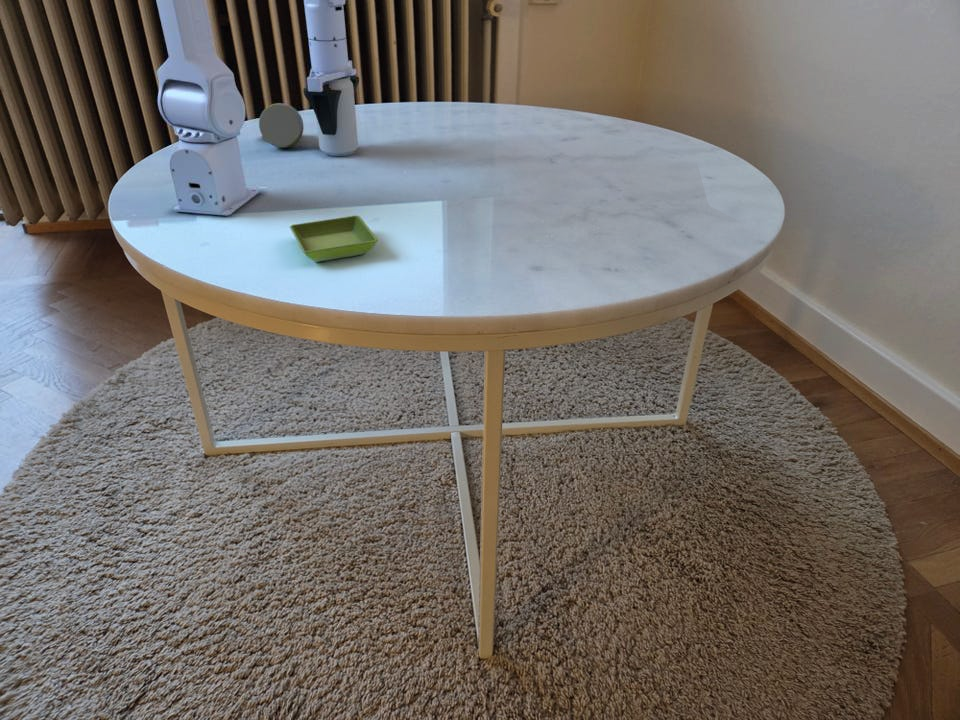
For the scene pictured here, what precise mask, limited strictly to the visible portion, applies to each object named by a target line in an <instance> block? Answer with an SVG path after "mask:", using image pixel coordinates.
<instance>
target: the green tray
mask: <svg viewBox="0 0 960 720" xmlns="http://www.w3.org/2000/svg"><path fill="white" fill-rule="evenodd" d="M289 229H290V231H291V232H292V234H293V236H294V238H295V240H296V241H297V243H298V245H299V247H300V250H301V251H302V252H303V255H305V256H306V257H307V258H308V259H309V260H311V261H312V262H315V263H318V262H319V263H320V262H324V261H331V260H336V259H342V258H348V257H355V256H361V255H365V254H367V253H368V252H370V251H371V250H372V249H374V247H375V246H376V244H377V242H378V237H376V235H375V234H374V232H372V230H371V229H370V228H369V226H368V225H367V224H366V222H365V221H364V220H363V218H362V217H361V216H360V215H348V216H342V217H336V218H328V219H322V220H315V221H309V222H308V221H307V222H303V223H295V224H291V225H289Z"/></svg>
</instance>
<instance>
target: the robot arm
mask: <svg viewBox="0 0 960 720" xmlns="http://www.w3.org/2000/svg"><path fill="white" fill-rule="evenodd" d="M155 1H156V5H157V9H158V15H159V19H160V22H161V28H162V32H163V33H162V34H163V36H164V37H163V38H164V42H165V44H166V45H165V46H166V49H167V50H166V51H167V54H168V57H167V59H166V60H165V61H164V62H163V63H162V65H161V66H160V67H159V68H158V69H157V71H156V75H157V79H158V92H157V93H158V94H157V107H158V111H159V113H160V115H161V118H162V119H163V120H164V122H165V123H167V124H168V125H169V126H170V127H172V128H173V132H174V135H175V136H177V137H178V146H177V149H176V150H175V151H174V152H173V153H172V155H170V156H171V157H170V159H169V170H170V174H171V179H172V182H173V183H172V184H173V187H174V190H175V194H176V198H177V202H178V204H177V205H175V206H174V207H173V210H174V212H178V213H179V212H180V213H191V214H203V215H213V216H214V215H215V216H231V215H232V214H233V213H234V212H236V211H237V210H239V209H240V208H241V207H243V205H245V204H246V203H248V202H249V201H250V200H252V199H253V198H254V197H255V196H257V195H258V194H259V193H260V192H261V191H260V189H259V188H255V187H247V182H246V178H245V173H244V167H243V162H242V156H241V151H240V145H239V141H238V140H239V139H238V136H240V135H241V130H242V128H243V126H244V124H245V119H246V105H245V101H244V98H243V96H242V95H241V93H240V91H239V90H238V87H237V85H236V81H235V75H234V72H233V71H232V70H231V69H230V68H229V67H228V66H227V65H226V63H225V62H224V61H223V60H222V59H221V58H220V57H219V56H218V55H217V53H216V51H217V50H216V46H215V42H214V37H213V36H214V35H213V30H212V26H211V19H210V15H209V10H208V5H207V0H155ZM303 5H304V14H305V22H306V23H305V24H306V30H307V38H308V47H309V55H310V56H309V57H310V64H311V68H310V71H309V76H307V77H306V84H307V86H305V87H303V89H302V90H303V96H304V97H305V98H306V100H307V101H308V103H309V104H310V106H311V108H312V110H313V112H314V115H315V118H316V117H317V120H318V123H319V126H320V128H321V131H322V133H323V134H324V135H335V134H336V131H337V108H338V102H339V98H340V95H341V92H342V91H341V90H331V88H329V84H327V83H328V82H327V81H334V79H338V78H342V77H345V76H350V81H351V82H352V83H353V90H354V96H355V95H356V91H357V88H358V86H359V83H360V77H359V76H357V75H356V74H357V68H354V67H353V60H349V55H348V45H347V32H346V31H347V30H346V21H345V20H346V19H345V11H344V10H345V9H344V5H346V0H303Z"/></svg>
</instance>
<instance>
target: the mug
mask: <svg viewBox="0 0 960 720" xmlns="http://www.w3.org/2000/svg"><path fill="white" fill-rule="evenodd" d="M258 128H259V132H260V134H261V139H262V140H264V141H266V143H268V144H269V145H272V146H273V147H277V148H280V149H281V148H282V149H286V148H291V147H293V146H295V145H296V144H298V143H299V141H300V140H301V138H302V136H303V133H304V128H305V127H304V120H303V118H302V116H301V114H300V112H299V111H298V110H297V109H296V108H294V106H292V105H289V104H287V103H282V102H275V103H272V104H270V105H268V106H266V107H265V108H264V109H263V111H262V112H261V113H260V116H259V120H258Z"/></svg>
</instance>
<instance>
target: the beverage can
mask: <svg viewBox="0 0 960 720" xmlns="http://www.w3.org/2000/svg"><path fill="white" fill-rule="evenodd" d="M327 82H328V83H327V84H329V88H331V90H341V91H342V92H341V95H340V98H339V102H338V108H337V131H336V134H335V135H324V134H323V133H322V131H321V128H320V126H319V123H318V120H317V117H316V116H315V120H316V121H315V122H316V130H317V136H318V145H319V150H320V151H321V152H323V153H324V154H325V155H328V156H332V157H345V156H350V155H352V154H354V153H355V152H356V151H357V150H358V148H359V138H358V125H357V114H356V103H355V102H356V101H355V95H354V90H353V83H352V82H351V81H350V76H345V77H342V78H338V79H334V81H327Z"/></svg>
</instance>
